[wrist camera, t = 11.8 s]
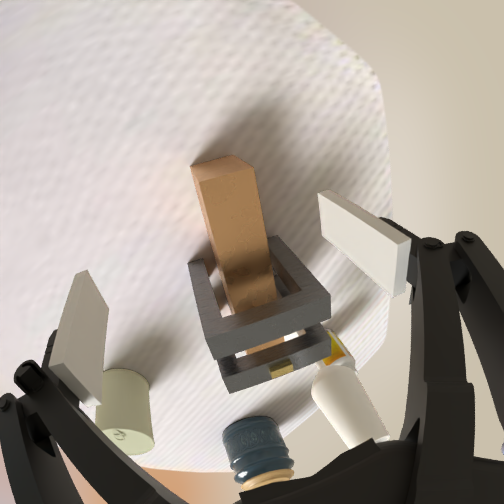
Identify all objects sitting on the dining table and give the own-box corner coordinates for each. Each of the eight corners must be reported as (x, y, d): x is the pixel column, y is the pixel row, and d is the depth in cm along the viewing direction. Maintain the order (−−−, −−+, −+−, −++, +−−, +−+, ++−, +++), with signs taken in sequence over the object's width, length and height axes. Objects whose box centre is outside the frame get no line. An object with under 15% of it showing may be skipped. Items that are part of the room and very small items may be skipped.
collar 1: (187, 263, 37) (205, 338, 25) (277, 235, 39) (330, 294, 27) (194, 282, 39) (214, 360, 27) (280, 254, 41) (331, 317, 29)
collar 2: (200, 300, 40) (223, 382, 28) (283, 273, 42) (334, 341, 30) (206, 316, 42) (230, 398, 29) (285, 289, 44) (333, 359, 31)
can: (141, 365, 42) (144, 428, 32) (155, 398, 47) (162, 455, 36) (88, 370, 40) (83, 432, 30) (107, 403, 44) (108, 459, 34)
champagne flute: (307, 304, 46) (394, 424, 26) (320, 327, 50) (398, 436, 29) (271, 328, 46) (342, 458, 26) (288, 349, 50) (354, 465, 29)
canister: (280, 410, 59) (311, 475, 44) (270, 437, 64) (295, 494, 49) (222, 420, 55) (245, 492, 40) (219, 446, 60) (239, 508, 45)
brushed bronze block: (189, 166, 32) (198, 182, 25) (233, 154, 33) (254, 167, 26) (234, 325, 44) (250, 364, 37) (267, 314, 45) (286, 350, 38)
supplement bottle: (300, 349, 51) (325, 391, 42) (316, 325, 49) (346, 366, 40) (322, 351, 53) (349, 391, 44) (339, 329, 51) (368, 367, 43)
